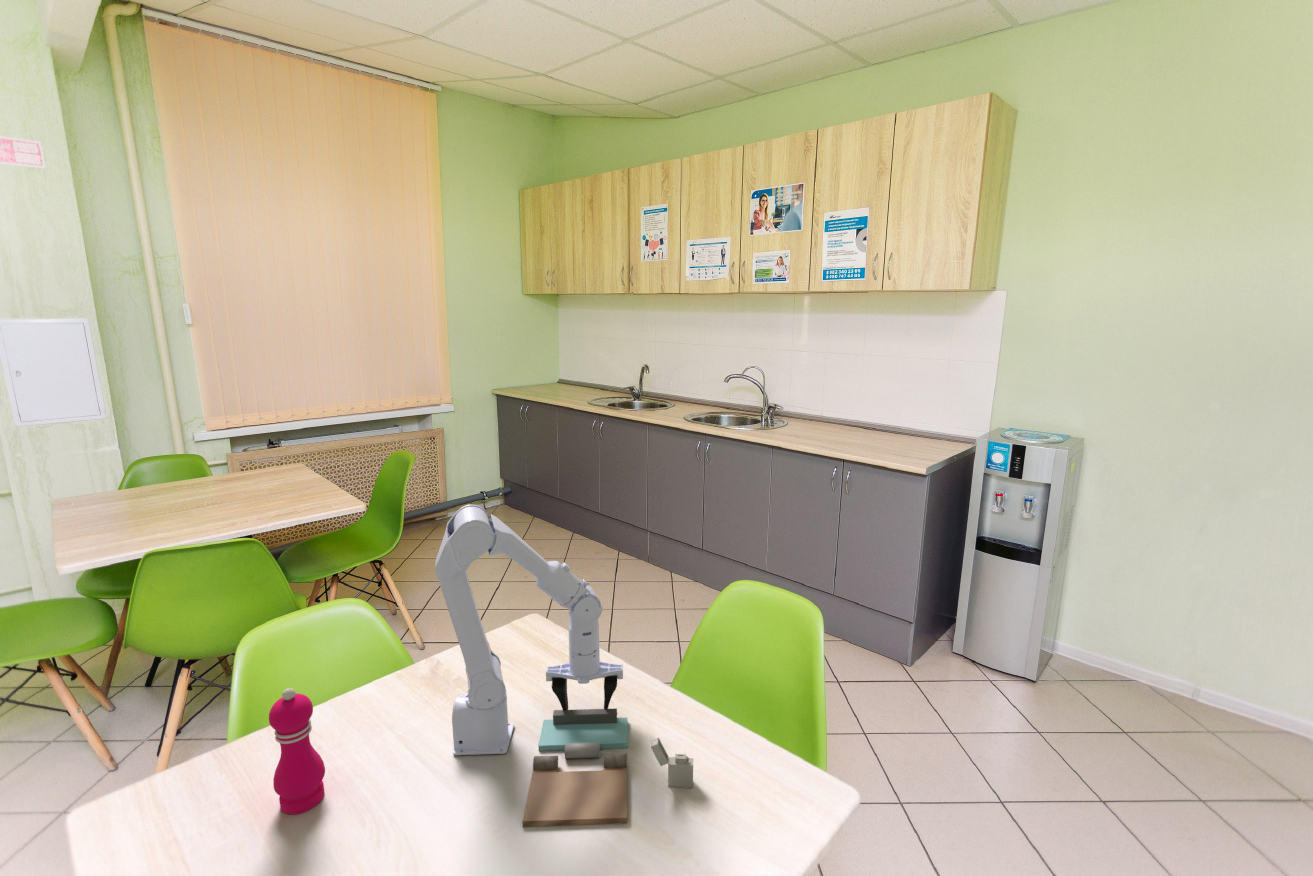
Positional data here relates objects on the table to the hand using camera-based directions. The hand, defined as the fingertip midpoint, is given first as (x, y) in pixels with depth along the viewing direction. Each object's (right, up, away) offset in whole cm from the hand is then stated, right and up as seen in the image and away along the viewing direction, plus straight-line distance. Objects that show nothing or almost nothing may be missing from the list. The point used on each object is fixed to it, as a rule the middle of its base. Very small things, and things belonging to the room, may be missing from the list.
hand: (585, 711), depth 120 cm
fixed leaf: (+1, -5, -18) cm, 19 cm away
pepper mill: (-44, -6, -20) cm, 48 cm away
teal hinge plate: (0, -3, -6) cm, 7 cm away
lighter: (+16, -5, -16) cm, 23 cm away
